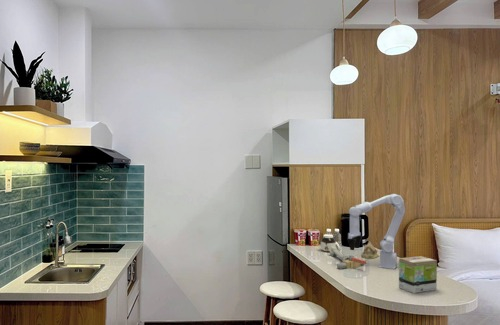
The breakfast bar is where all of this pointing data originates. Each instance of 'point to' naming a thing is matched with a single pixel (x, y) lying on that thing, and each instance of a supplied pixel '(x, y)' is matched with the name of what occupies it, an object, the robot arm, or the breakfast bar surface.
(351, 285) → the breakfast bar surface
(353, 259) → the lever
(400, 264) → the tea box
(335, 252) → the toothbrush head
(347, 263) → the valve pipe
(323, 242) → the spread jar
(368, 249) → the ceramic model
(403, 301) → the breakfast bar surface
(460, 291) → the breakfast bar surface
